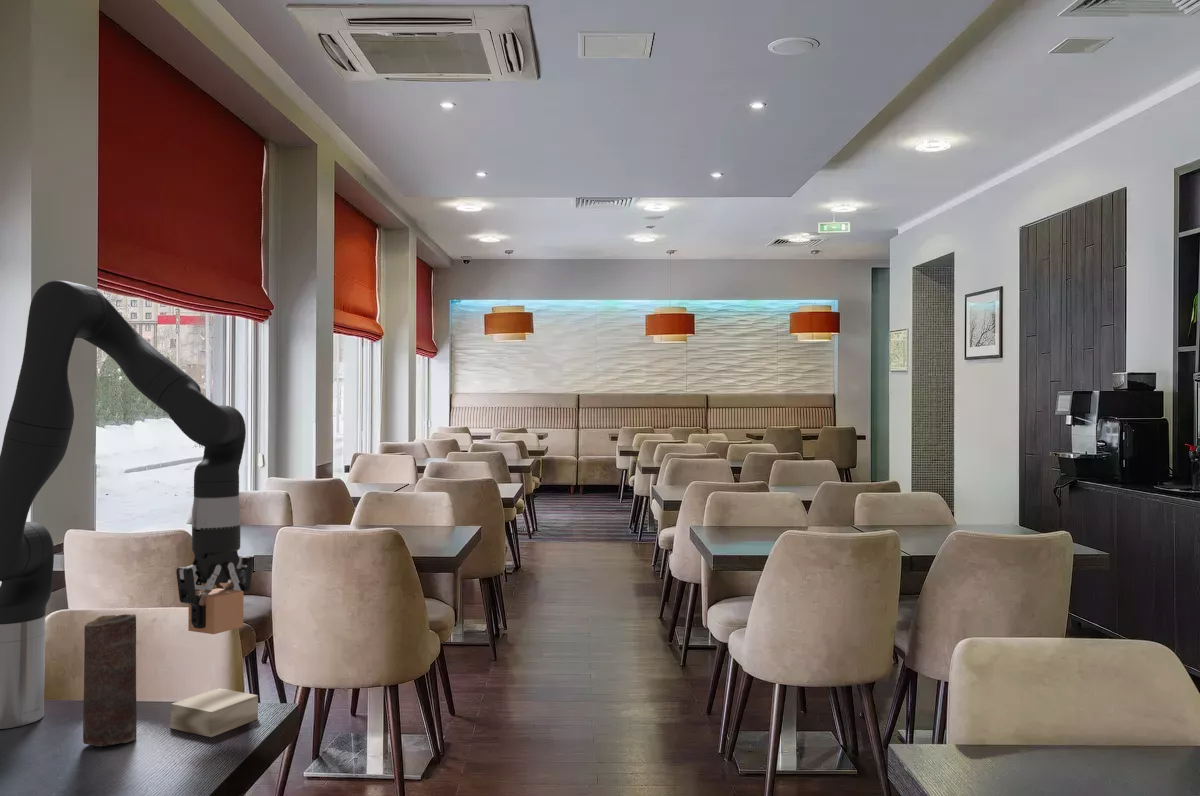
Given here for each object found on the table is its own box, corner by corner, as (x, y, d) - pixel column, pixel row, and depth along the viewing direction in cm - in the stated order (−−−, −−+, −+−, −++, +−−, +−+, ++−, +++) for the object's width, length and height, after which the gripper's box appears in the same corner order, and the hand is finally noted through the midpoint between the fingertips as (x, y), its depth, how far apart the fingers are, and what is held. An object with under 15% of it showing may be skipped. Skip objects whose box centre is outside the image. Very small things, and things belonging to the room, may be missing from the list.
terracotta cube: (188, 630, 146) (188, 594, 146) (218, 623, 151) (218, 588, 151) (214, 634, 143) (214, 597, 143) (243, 626, 149) (243, 591, 149)
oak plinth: (170, 728, 145) (170, 703, 145) (217, 711, 153) (218, 687, 153) (211, 737, 141) (211, 712, 141) (257, 719, 149) (258, 695, 149)
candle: (111, 755, 133) (113, 622, 133) (70, 751, 134) (72, 620, 135) (147, 737, 140) (148, 612, 141) (107, 734, 142) (109, 610, 142)
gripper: (234, 518, 156) (234, 613, 155) (163, 527, 143) (162, 630, 142) (265, 519, 153) (265, 617, 152) (195, 529, 140) (195, 635, 139)
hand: (215, 623), depth 147 cm, fingers closed on terracotta cube, 6 cm apart
